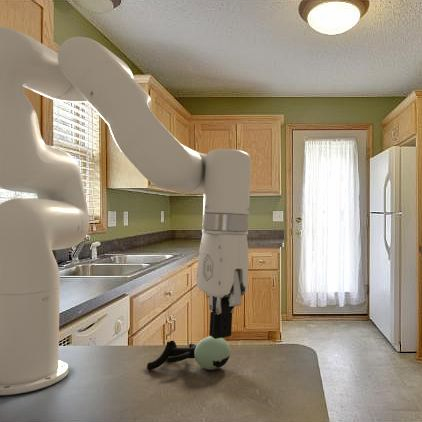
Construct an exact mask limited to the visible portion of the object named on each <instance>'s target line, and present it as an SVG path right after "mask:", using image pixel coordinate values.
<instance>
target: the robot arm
mask: <svg viewBox="0 0 422 422" xmlns="http://www.w3.org/2000/svg"><path fill="white" fill-rule="evenodd" d="M24 88H26V89H28V90H30V91H32V92H34V93H37V94H39V95H41V96H44V97H46V98H49V99H51V100H55V101H58V102H59V101H60V102H69V103H70V102H71V103H88V104H89V105H90V106H91V107H92V108H93V109H94V110H95V111H96V113H97V114H98V115H99V116H100V118H102V119H103V120H104V122H105V123H106V124H107V126H108V128H109V131H110V134H111V135H112V138H113V140H114V142H115V144H116V146H117V147H118V149H119V150H120V152H121V153H122V154H123V155H124V156H125V157H126V158H127V160H128V161H129V162H130V163H131V164H132V165H133V167H135V168H136V170H137V171H138V172H139V173H140V174H141V175H142V176H143V177H144V178H145V179H146V180H147V181H148V182H150V183H151V185H154V186H155V187H157V188H160V189H162V190H166V191H171V192H176V193H180V194H187V195H193V194H203V201H202V202H203V204H202V206H203V207H202V225H201V226H202V227H201V233H202V235H201V239H200V244H199V250H198V258H197V259H198V260H197V268H196V269H197V270H196V287H197V289H198V290H199V291H201V292H203V293H205V295H206V296H207V297H208V302H209V305H208V308H209V311H210V313H209V336H211V337H213V338H214V339H218V338H223V339H225V338H229V337H231V336H232V326H233V313H234V312H235V307H238V306H239V307H240V306H241V305H242V297H243V296H245V295H246V294H247V292H248V284H249V246H248V244H249V243H248V235H249V221H250V220H249V218H250V217H249V216H250V198H251V197H250V196H251V178H252V177H251V176H252V175H251V174H252V159H251V156H250V155H249V153H247V152H245V151H244V150H239V149H233V148H215V149H211V150H210V151H208V153H202V152H200V151H196V150H194V149H192V148H190V147H188V146H187V145H184V144H182V143H181V142H180V141H179V140H178V139H177V138H176V137H175V136H174V135H173V134H172V133H171V132H170V131H169V130H168V129H167V128H166V127H165V126H164V124H163V123H162V122H161V121H160V120H159V118H157V117H156V115H155V114H154V113H153V111H152V110H151V108H152V99H151V96H150V95H149V93H148V92H147V91H146V90H145V89H144V88H143V87H142V86H141V85H140V84H139V83H138V82H137V81H136V79H134V75H133V72H132V70H131V68H130V67H129V65H128V64H127V63H126V62H125V61H124V60H123V59H121V58H119V56H118V55H116V54H115V53H114V52H112V51H111V50H110V49H108V48H107V47H106V46H104V45H103V44H101V43H100V42H98V41H97V40H94V39H93V38H90V37H86V36H73V37H70V38H67V39H66V40H65V41H63V42H62V43H61V44H60V46H59V48H58V51H57V52H56V51H55V50H53V49H52V48H50V47H48V46H47V45H45V44H44V43H42V42H40V41H39V40H36V39H35V38H33V37H32V36H30V35H29V34H26V33H24V32H22V31H19V30H16V29H13V28H10V27H3V26H0V189H3V190H6V191H9V192H16V193H26V194H36V196H37V198H36V197H17V198H11V199H8V200H5V201H3V202H1V203H0V396H12V395H13V396H14V395H20V394H24V393H30V392H34V391H37V390H41V389H44V388H47V387H50V386H52V385H54V384H56V383H58V382H60V381H62V380H63V379H64V378H65V377H67V375H68V373H69V365H68V363H67V362H64V361H62V360H59V356H60V355H59V352H60V350H59V349H60V348H59V347H60V304H61V303H60V300H61V297H60V296H61V274H60V269H59V265H58V262H57V260H56V257H55V255H54V252H53V251H55V250H56V251H57V250H65V249H69V248H70V249H71V248H74V247H76V246H77V245H80V244H81V243H83V241H84V240H85V239H86V237H87V235H88V233H89V229H90V216H89V215H90V214H89V209H88V204H87V199H86V194H85V187H84V183H83V178H82V174H81V173H82V172H81V169H80V166H79V165H78V163H77V162H76V160H75V159H74V157H73V156H72V155H71V154H69V152H67V151H66V150H64V149H62V148H59V147H56V146H52V145H50V144H49V145H48V144H47V143H46V142H45V141H44V139H43V137H42V134H41V130H40V124H39V118H38V115H37V112H36V110H35V107H34V106H33V104H32V103H31V101H30V99H29V98H28V96H27V95H26V93H25V90H24Z"/></svg>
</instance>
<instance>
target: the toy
mask: <svg viewBox="0 0 422 422" xmlns="http://www.w3.org/2000/svg"><path fill="white" fill-rule="evenodd" d="M230 357H231V347H230V344H229V343H228V341H227V340H225V338H218V339H214V338H213V337H211V336H210V335H209V336H206V337H204V338H202V339H200V340H199V342H197V344H195V343H189V344H188V347H177V344H176V342H175V340H169V341H166V345H165V347H164V349H163V351H162V353H161V354H160V356H159V357H158V358H156V359H154V360H153V361H149V362H148V363H147V364H146V369H147V370H148V371H151V370H155V369H157V368H159V367H161V366H162V365H163V364H164V363H165V362H167V364H170V363H171V364H172V363H177V362H182V361H184V360H187V359H194V360H195V362H196V363H197V365H198V366H200V367H201V368H203V369H205V370H210V371H211V370H217V369H221V368H222V367H223V366H225V365H226V364H227V362H228V361H229V359H230Z"/></svg>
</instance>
